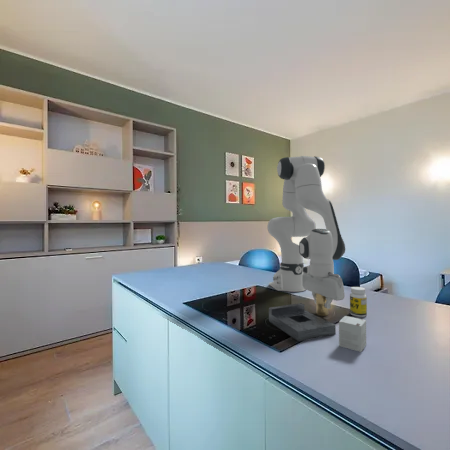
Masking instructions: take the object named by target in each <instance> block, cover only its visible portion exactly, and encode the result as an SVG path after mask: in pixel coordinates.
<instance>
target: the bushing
mask: <svg viewBox="0 0 450 450" xmlns="http://www.w3.org/2000/svg"><path fill="white" fill-rule="evenodd" d="M326 301H327V300H326V297H325V296H322V295H320V294H317V293H316V304H315V306H316V307H315V309H316V314H315V315H316V316H319V317H320V316H322V317H327V316H329V309H327V308H325V307H324V303H326Z"/></svg>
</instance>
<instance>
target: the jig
mask: <svg viewBox="0 0 450 450" xmlns="http://www.w3.org/2000/svg"><path fill="white" fill-rule="evenodd" d="M268 322H269V323H271V324H272V325H274V326H275V327H277V328H278V329H280V331H283V332H284V333H286V335H288V336H290V337H291V338H293V339H294V340H295V341H297V342H303V341H304V342H305V341H309V340H312V339H313V340H314V339H318V338H324V337H328V336H334V335H336V333H337V332H336V324H335V323H332V322H330V321H328V320H327V319H324V318H322V317H320V316H319V315H317V314H315V313H312V312H309V311H308V310H306V309H305V304H304V303H302V302H300V303H292V304H285V305H280V306H279V305H278V306H271V307H268Z"/></svg>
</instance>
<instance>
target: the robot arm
mask: <svg viewBox="0 0 450 450" xmlns="http://www.w3.org/2000/svg"><path fill="white" fill-rule="evenodd" d="M325 169H326V165H325V160H323V158H322V157H319V156H316V155H315V156H308V155H300V156H291V157H288V156H286V157H282V158H280V159H279V160H278V163H277V167H276V170H277V171H276V172H277V175H278V177H279V178H280V179H282V180H284V181H283V188H282V200H281V201H282V207H283V208H284V209H285V210H287V211H289V212H291V213H292V216H277V217H273V218H270V219H269V221H268V223H267V228H266V229H267V231H268V234H269V235H270V236H271V237H272V238H274V239H275V240H276V241H277V243H278V245H279V247H280V253H281V254H280V256H281V262H279V268H278V270H277V271H276V272H275V273H274V274H273V277H272V282H271V281H270V282H269V283H268V285H269V286H270V287H272V288H273V289H274V290H276V291H279V292H281V291H282V292H292V293H293V292H295V293H299V292H304V291H308V292H311V295H312V298H313V300H314V301H313V302H314V304H315V305H316V293H317V294H320V295H322V296H325V297H326V300H327V301H326V303H324V307H325V308H327V309H328V310H329V309H331V308H332V306H331V305H332V302H333V301H343V300H344V299H345V287H344V283H343V278H342V277H341V276H340V275H339V274H338V273H335V269H334V268H335V266H334V263H335V262H334V261H339V260H340V259H341V258H342V257H343V256H344V254H345V253H346V244H345V241H344V239H343V237H342V234H341V231H340V228H339V223H338V219H337V217H336V216H337V215H336V212H335V210H334V207H333V203H332V202H331V200H330V199H328V198H327V197H326V195H325V194H324V192H323V188H322V187H323V186H322V185H323V184H322V180H321V177H322V176H323V175H324V172H325ZM306 210H309V211H312V212H314V213H317V214H318V215H320V216H321V218H322V219H323V222H324V225H325V226H324V227H325V228H317V225H316V221H315V220H314V219H313V217H311V216H310V215H309V213H308V212H307V211H306ZM301 237H302V239H301V240H300V241H299V243H296V242H293V239H292V238H301ZM303 259H307V260H309V265H304V262H303Z"/></svg>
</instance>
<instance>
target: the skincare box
mask: <svg viewBox="0 0 450 450" xmlns="http://www.w3.org/2000/svg"><path fill="white" fill-rule="evenodd" d="M366 345H367V320H366V319H361V318H359V317H353V316H347V315H344V316H343V317H342V318H341V319H339V322H338V346H339V347H341V348H345V349H349V350H352V351H355V352H358V353H359V352H360V353H362V352H363V351H364V349H365V347H366Z"/></svg>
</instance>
